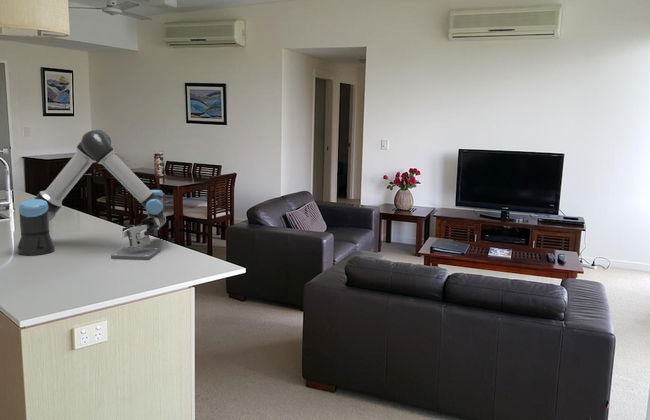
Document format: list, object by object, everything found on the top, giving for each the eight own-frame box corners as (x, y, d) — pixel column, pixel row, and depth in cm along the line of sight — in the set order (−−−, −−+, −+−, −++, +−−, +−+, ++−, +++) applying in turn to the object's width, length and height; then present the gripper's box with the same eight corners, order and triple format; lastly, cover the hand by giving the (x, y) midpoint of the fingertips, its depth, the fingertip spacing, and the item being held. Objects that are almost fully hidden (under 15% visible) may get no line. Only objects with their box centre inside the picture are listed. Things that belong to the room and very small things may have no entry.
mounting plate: (111, 258, 248) (110, 254, 247) (124, 250, 263) (124, 246, 263) (148, 260, 247) (148, 256, 247) (160, 251, 263) (160, 247, 263)
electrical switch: (134, 248, 249) (132, 228, 248) (126, 247, 252) (124, 227, 251) (151, 244, 257) (149, 224, 256) (143, 244, 260) (142, 224, 259)
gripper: (170, 233, 272) (154, 244, 249) (129, 231, 272) (110, 242, 250) (169, 217, 270) (154, 227, 248) (128, 216, 271) (109, 226, 248)
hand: (132, 235), depth 249 cm, fingers closed on electrical switch, 7 cm apart
